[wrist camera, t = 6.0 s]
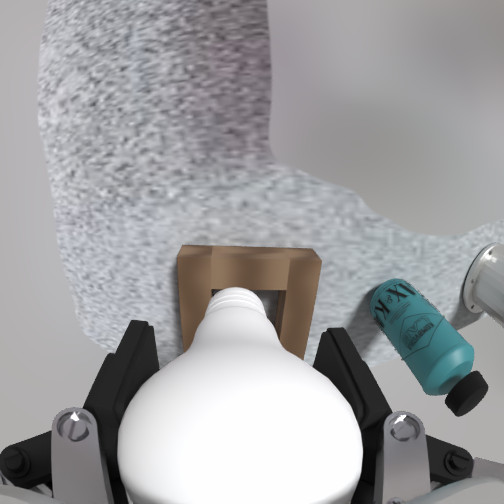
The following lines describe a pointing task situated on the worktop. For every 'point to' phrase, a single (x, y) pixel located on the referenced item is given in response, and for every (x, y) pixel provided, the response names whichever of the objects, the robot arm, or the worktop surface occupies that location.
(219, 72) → the worktop surface
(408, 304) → the beverage bottle
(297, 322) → the socket block
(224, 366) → the lightbulb
